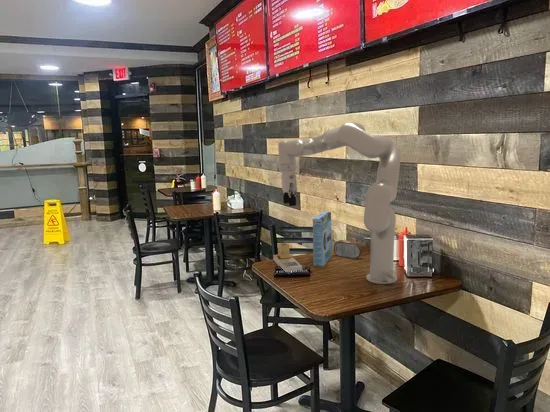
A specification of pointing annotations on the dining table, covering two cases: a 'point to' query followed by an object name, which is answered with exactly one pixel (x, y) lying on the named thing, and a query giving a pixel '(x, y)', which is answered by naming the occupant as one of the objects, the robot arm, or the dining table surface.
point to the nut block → (283, 251)
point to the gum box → (322, 239)
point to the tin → (348, 249)
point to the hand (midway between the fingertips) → (289, 204)
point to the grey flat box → (287, 263)
